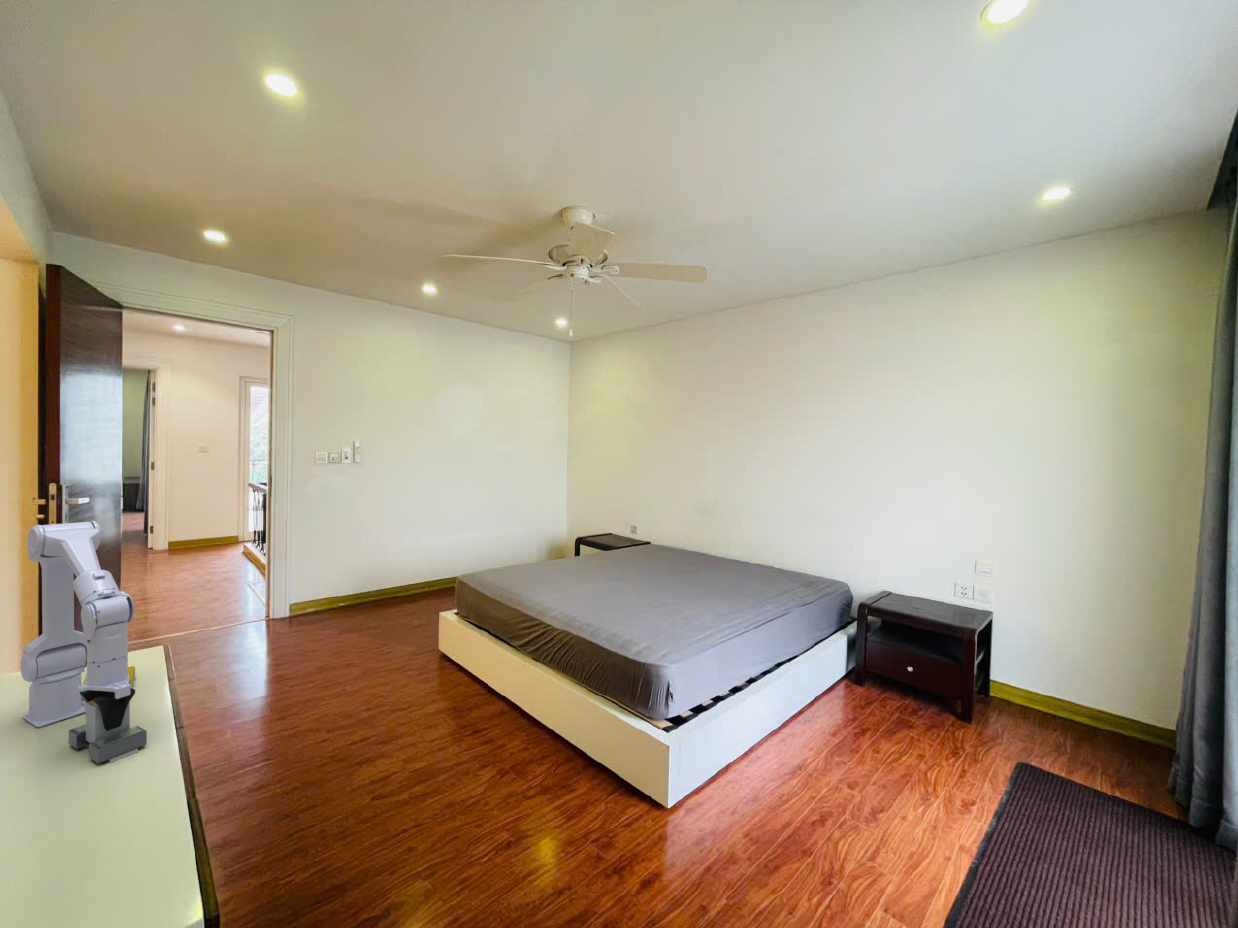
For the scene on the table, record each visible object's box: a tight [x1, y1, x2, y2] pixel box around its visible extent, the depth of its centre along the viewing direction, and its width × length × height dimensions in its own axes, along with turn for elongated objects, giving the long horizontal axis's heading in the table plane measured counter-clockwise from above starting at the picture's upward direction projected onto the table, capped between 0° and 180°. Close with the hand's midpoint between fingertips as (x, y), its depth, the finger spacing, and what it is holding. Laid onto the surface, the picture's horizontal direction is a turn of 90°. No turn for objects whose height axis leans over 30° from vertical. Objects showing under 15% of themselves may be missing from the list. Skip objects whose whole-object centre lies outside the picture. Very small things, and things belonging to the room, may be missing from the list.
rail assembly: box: [68, 723, 148, 764], centre depth 99 cm, size 15×7×4 cm, turn 64°
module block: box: [85, 700, 131, 743], centre depth 99 cm, size 4×5×8 cm
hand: (107, 725), depth 99 cm, fingers closed on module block, 4 cm apart
